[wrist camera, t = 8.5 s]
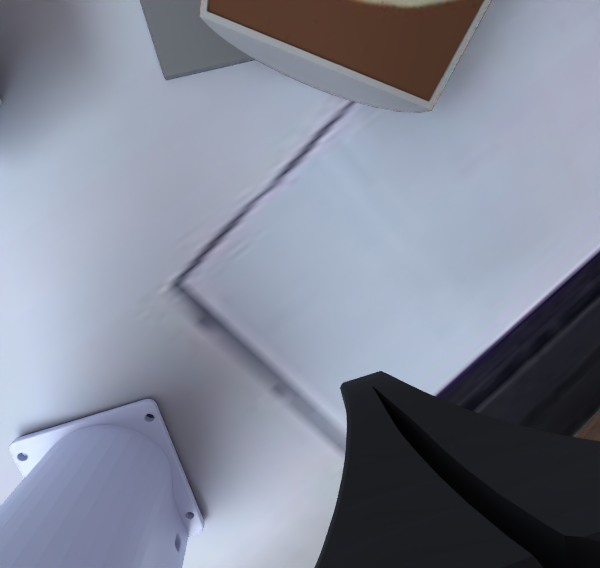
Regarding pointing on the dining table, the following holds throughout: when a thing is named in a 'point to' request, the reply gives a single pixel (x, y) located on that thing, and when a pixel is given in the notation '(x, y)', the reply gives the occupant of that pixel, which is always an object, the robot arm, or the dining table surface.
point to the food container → (354, 44)
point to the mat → (186, 39)
